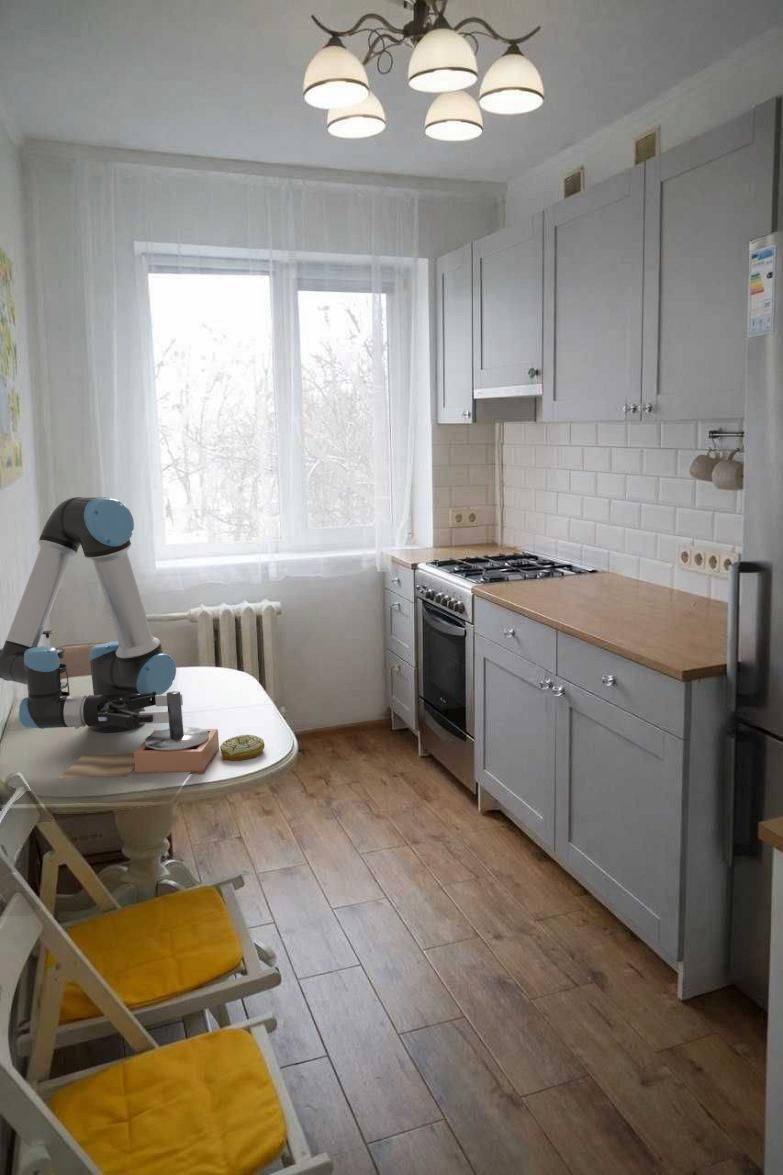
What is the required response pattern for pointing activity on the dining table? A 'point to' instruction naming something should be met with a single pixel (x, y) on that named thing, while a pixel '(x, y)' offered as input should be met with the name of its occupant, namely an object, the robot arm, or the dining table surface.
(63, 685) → the french press
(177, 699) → the lid
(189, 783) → the dining table surface
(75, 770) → the trivet
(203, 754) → the terracotta square tray
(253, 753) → the decorated donut
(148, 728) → the dining table surface
